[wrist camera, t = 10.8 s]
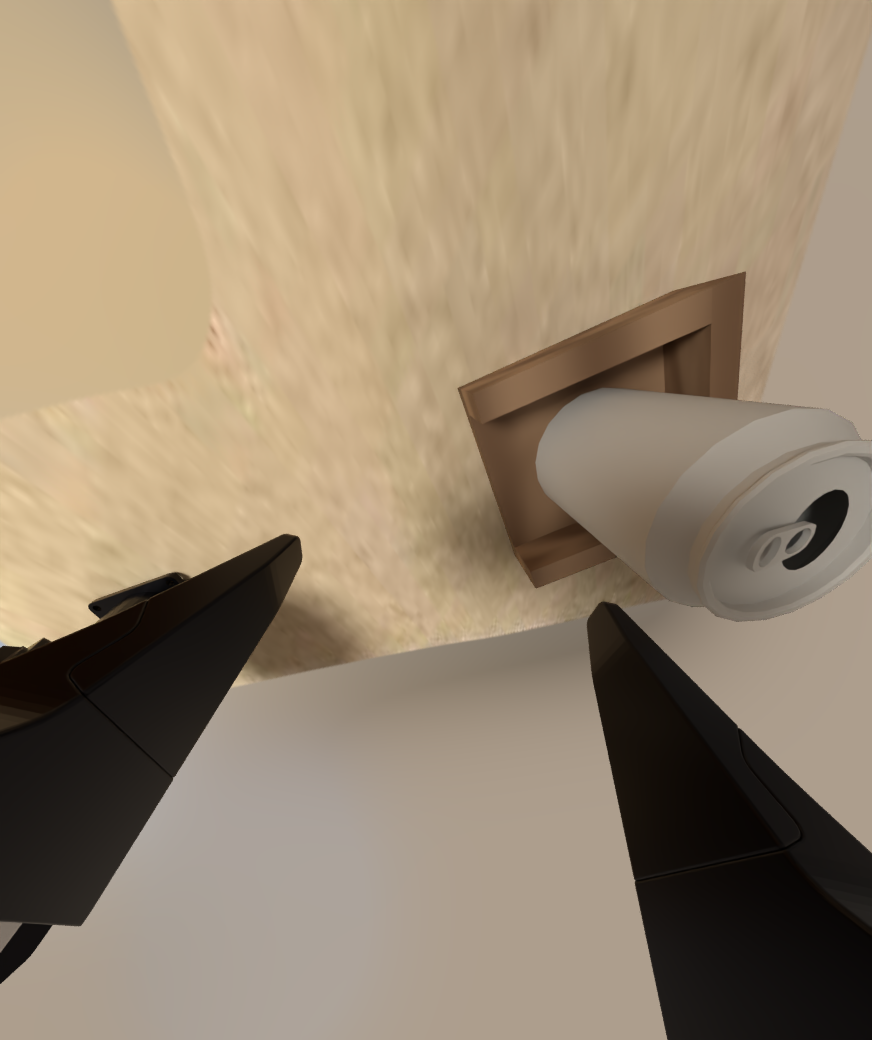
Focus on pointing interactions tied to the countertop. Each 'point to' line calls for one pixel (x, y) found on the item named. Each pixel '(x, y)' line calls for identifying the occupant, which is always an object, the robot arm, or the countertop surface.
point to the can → (715, 495)
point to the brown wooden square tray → (587, 367)
